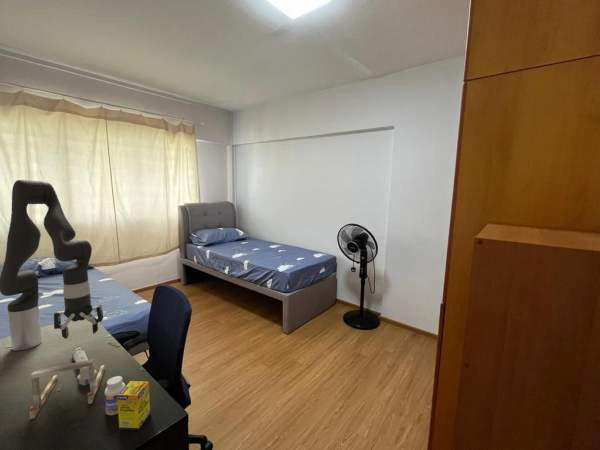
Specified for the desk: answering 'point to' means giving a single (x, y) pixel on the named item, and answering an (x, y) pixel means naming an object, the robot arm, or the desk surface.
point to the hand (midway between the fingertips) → (80, 335)
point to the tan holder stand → (41, 398)
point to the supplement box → (133, 405)
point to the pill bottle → (113, 394)
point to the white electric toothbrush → (83, 377)
